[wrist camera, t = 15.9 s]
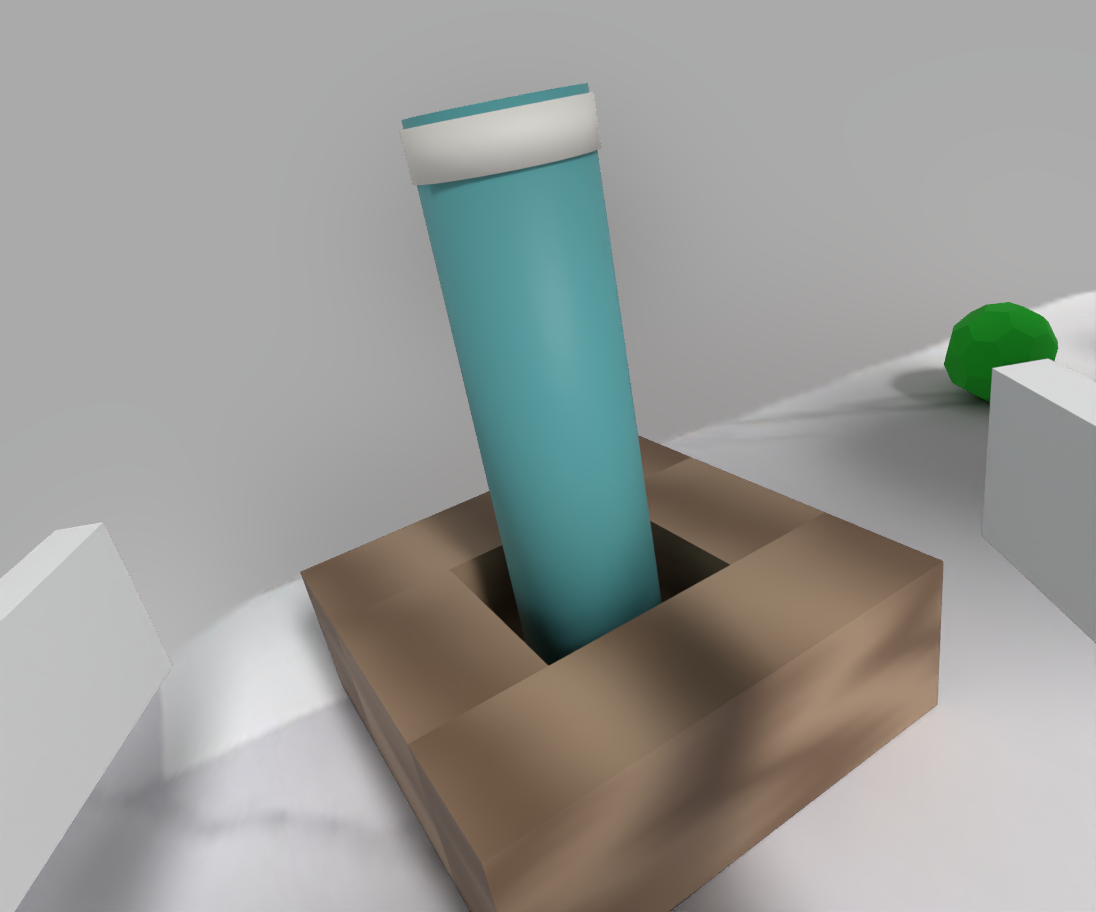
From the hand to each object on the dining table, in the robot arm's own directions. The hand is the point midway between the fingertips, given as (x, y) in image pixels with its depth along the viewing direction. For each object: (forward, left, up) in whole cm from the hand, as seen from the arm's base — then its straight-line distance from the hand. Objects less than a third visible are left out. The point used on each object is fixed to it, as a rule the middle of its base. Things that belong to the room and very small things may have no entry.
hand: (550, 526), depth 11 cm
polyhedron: (-33, -12, -12) cm, 37 cm away
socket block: (-5, -8, -12) cm, 15 cm away
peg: (-5, -8, -12) cm, 15 cm away
